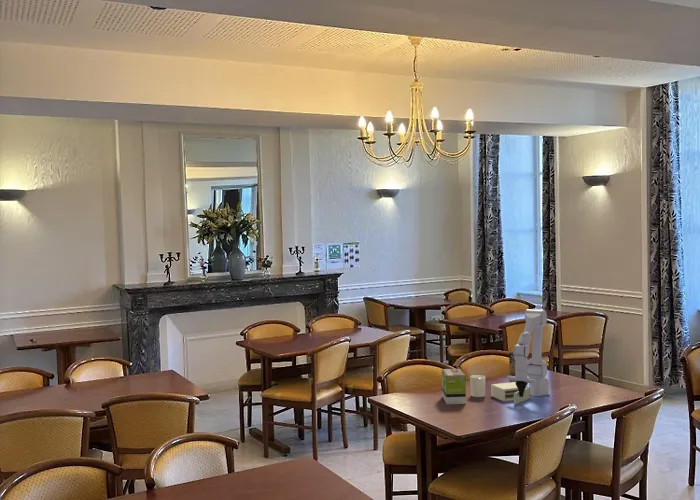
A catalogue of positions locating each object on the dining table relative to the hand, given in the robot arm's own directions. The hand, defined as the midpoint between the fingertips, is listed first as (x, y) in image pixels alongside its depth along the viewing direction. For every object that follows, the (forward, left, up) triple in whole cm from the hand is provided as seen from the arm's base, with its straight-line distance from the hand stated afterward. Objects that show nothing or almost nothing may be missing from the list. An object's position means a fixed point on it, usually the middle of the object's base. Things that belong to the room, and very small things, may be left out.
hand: (521, 396), depth 335 cm
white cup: (+12, -21, -4) cm, 25 cm away
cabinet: (-1, -12, -3) cm, 13 cm away
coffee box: (-24, -40, -4) cm, 47 cm away
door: (-2, -2, -3) cm, 4 cm away
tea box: (+28, -17, -4) cm, 33 cm away
